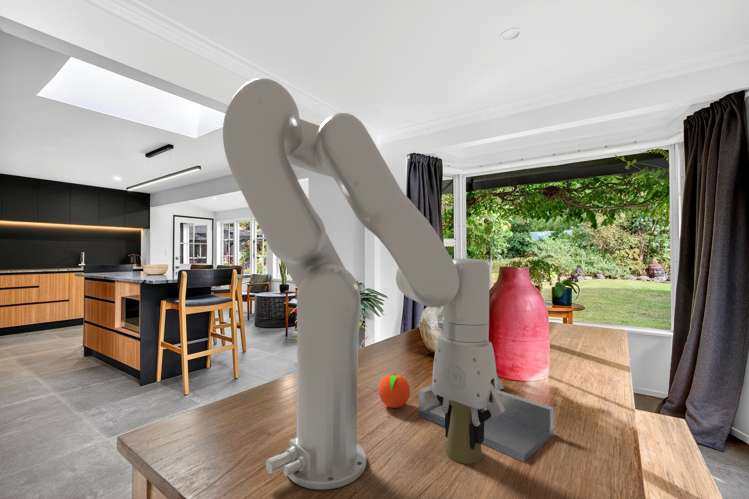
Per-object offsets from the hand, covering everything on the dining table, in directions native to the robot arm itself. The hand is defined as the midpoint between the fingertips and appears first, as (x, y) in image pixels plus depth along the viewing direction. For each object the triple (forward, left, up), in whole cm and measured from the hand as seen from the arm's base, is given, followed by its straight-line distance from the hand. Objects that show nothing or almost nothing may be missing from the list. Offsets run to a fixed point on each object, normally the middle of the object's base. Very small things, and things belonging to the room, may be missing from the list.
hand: (463, 439), depth 60 cm
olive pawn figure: (0, 0, -2) cm, 2 cm away
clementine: (+4, +20, -3) cm, 20 cm away
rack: (+12, +3, -2) cm, 12 cm away
